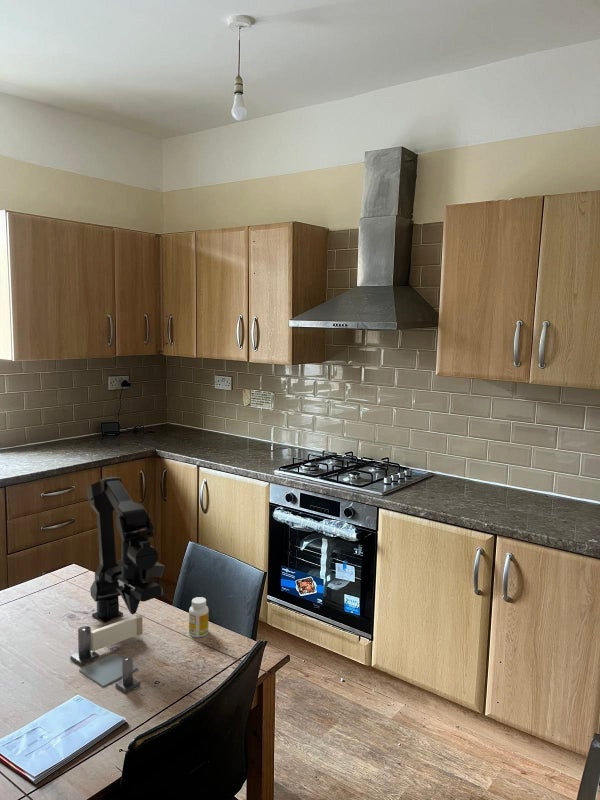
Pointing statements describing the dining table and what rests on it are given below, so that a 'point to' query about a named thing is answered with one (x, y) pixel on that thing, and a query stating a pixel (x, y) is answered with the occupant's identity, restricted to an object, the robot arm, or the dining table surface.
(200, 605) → the supplement bottle
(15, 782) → the dining table surface
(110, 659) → the doorway mat
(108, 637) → the gate
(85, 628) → the gate posts
